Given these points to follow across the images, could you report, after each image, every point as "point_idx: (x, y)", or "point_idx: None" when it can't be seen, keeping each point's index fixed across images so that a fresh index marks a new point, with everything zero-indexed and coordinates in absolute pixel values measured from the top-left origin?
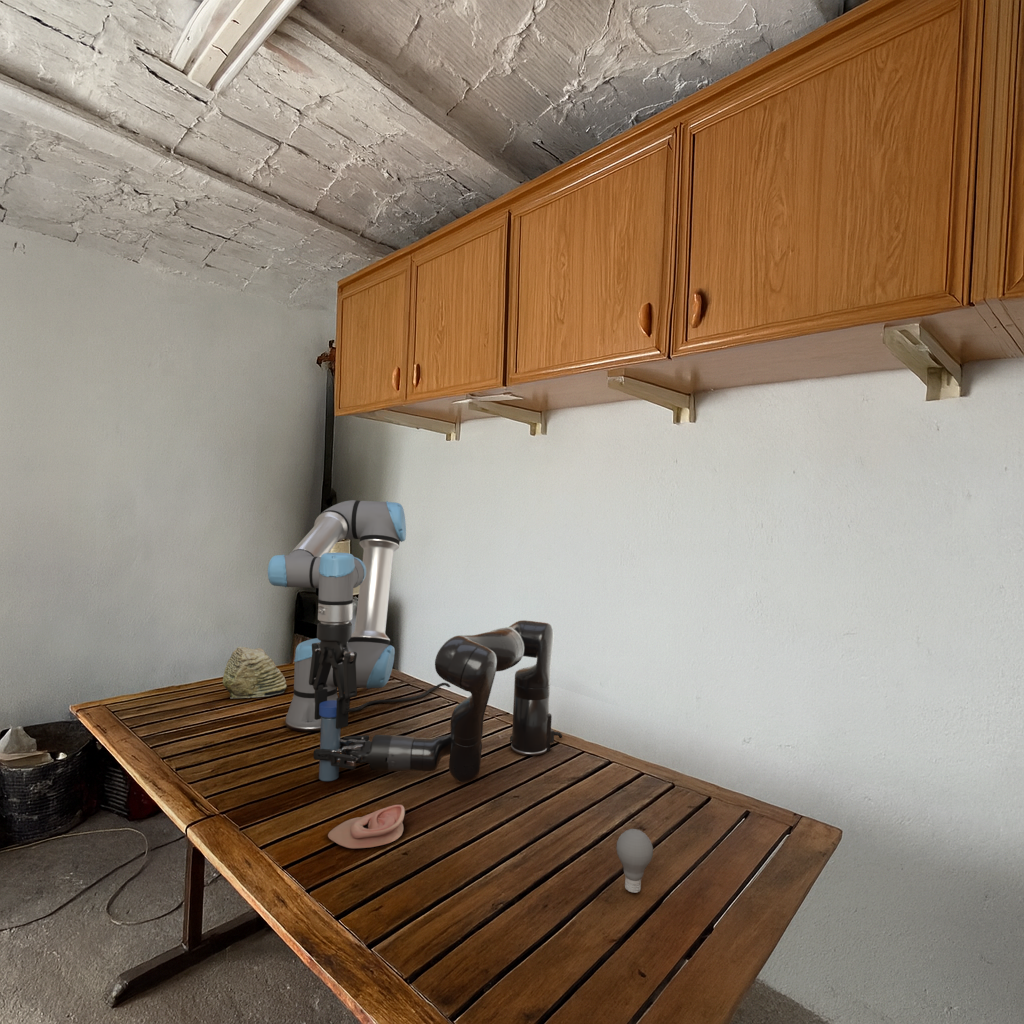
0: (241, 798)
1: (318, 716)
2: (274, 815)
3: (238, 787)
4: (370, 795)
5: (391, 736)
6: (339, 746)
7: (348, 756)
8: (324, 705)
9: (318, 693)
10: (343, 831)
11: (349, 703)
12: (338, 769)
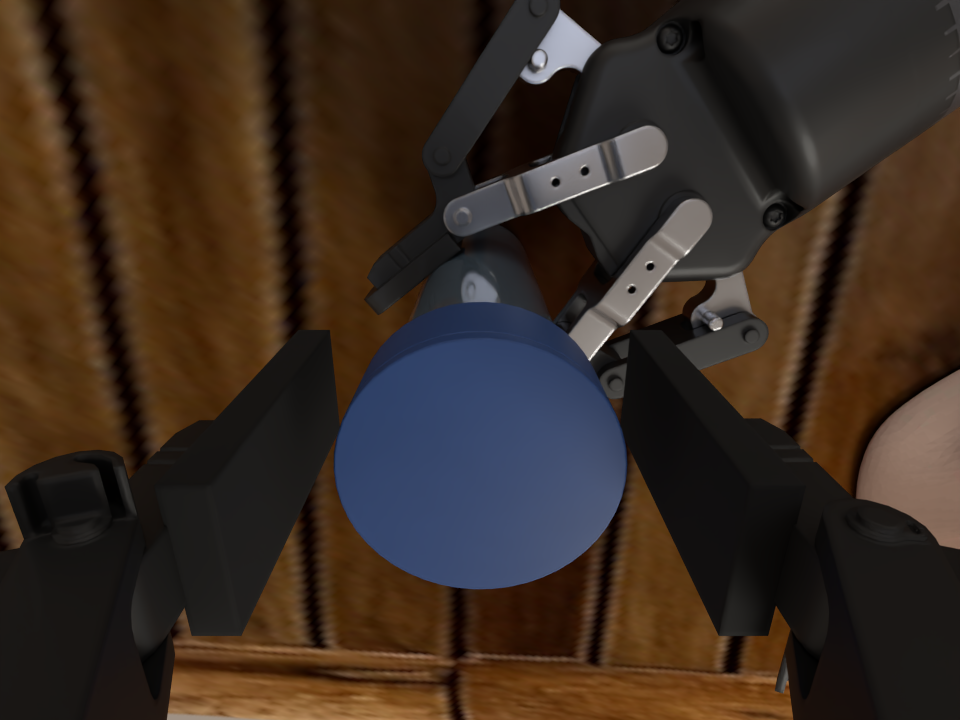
0: (405, 584)
1: (331, 422)
2: (600, 572)
3: (313, 556)
4: (783, 251)
5: (937, 3)
6: (535, 281)
7: (717, 348)
8: (471, 555)
9: (251, 596)
10: (944, 541)
11: (837, 486)
12: (525, 253)
